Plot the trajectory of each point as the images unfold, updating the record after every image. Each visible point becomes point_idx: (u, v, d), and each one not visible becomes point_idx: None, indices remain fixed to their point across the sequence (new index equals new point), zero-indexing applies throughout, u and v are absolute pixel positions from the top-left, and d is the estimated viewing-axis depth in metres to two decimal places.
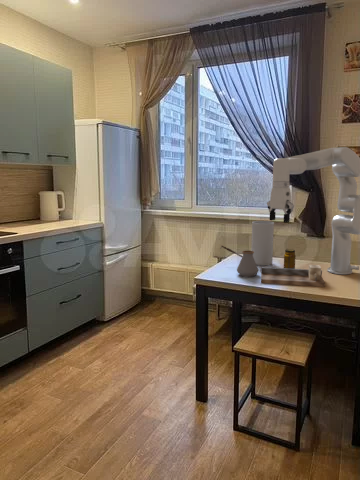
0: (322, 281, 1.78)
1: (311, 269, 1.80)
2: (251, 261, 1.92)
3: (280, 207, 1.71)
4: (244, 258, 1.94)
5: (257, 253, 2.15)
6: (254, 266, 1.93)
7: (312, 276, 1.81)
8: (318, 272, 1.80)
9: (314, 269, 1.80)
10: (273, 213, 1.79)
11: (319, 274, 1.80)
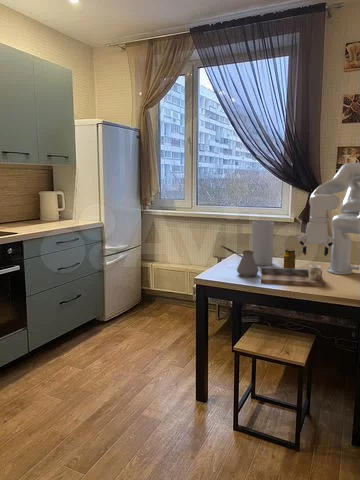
0: (322, 281, 1.78)
1: (311, 269, 1.80)
2: (251, 261, 1.92)
3: (322, 242, 1.78)
4: (244, 258, 1.94)
5: (257, 253, 2.15)
6: (254, 266, 1.93)
7: (312, 276, 1.81)
8: (318, 272, 1.80)
9: (314, 269, 1.80)
10: None
11: (319, 274, 1.80)
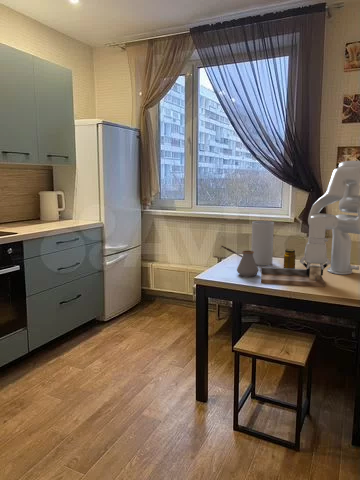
0: (322, 281, 1.78)
1: (311, 269, 1.80)
2: (251, 261, 1.92)
3: (321, 262, 1.80)
4: (244, 258, 1.94)
5: (257, 253, 2.15)
6: (254, 266, 1.93)
7: (312, 276, 1.81)
8: (318, 272, 1.80)
9: (314, 269, 1.80)
10: (309, 269, 1.84)
11: (319, 274, 1.80)
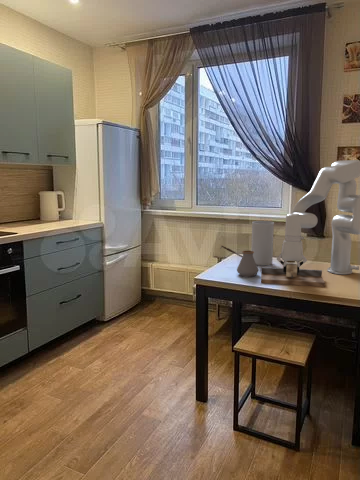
0: (322, 281, 1.78)
1: (287, 267, 1.83)
2: (251, 261, 1.92)
3: (297, 259, 1.82)
4: (244, 258, 1.94)
5: (257, 253, 2.15)
6: (254, 266, 1.93)
7: (288, 274, 1.83)
8: (294, 270, 1.82)
9: (290, 267, 1.82)
10: None
11: (295, 271, 1.82)
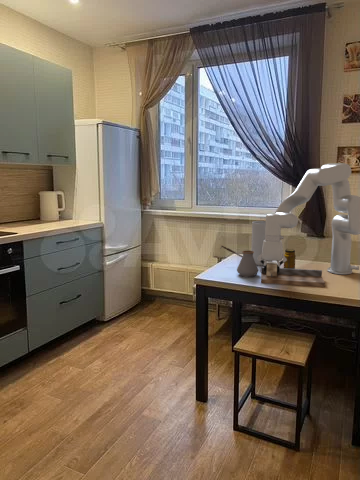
0: (322, 281, 1.78)
1: (267, 266, 1.85)
2: (251, 261, 1.92)
3: (277, 259, 1.84)
4: (244, 258, 1.94)
5: (257, 253, 2.15)
6: (254, 266, 1.93)
7: (269, 273, 1.86)
8: (274, 269, 1.85)
9: (270, 266, 1.85)
10: (266, 266, 1.88)
11: (275, 271, 1.85)
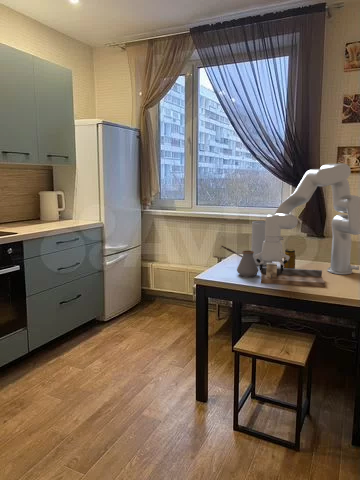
0: (322, 281, 1.78)
1: (267, 267, 1.85)
2: (251, 261, 1.92)
3: (277, 259, 1.84)
4: (244, 258, 1.94)
5: (257, 253, 2.15)
6: (254, 266, 1.93)
7: (268, 274, 1.86)
8: (274, 270, 1.85)
9: (270, 267, 1.85)
10: (262, 265, 1.89)
11: (275, 272, 1.85)
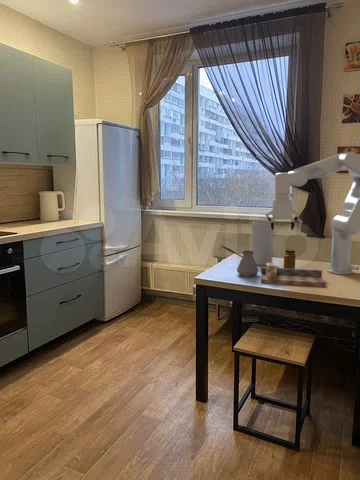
0: (322, 281, 1.78)
1: (267, 267, 1.85)
2: (251, 261, 1.92)
3: (288, 216, 1.88)
4: (244, 258, 1.94)
5: (257, 253, 2.15)
6: (254, 266, 1.93)
7: (268, 274, 1.86)
8: (274, 270, 1.85)
9: (270, 267, 1.85)
10: (273, 223, 1.92)
11: (275, 272, 1.85)
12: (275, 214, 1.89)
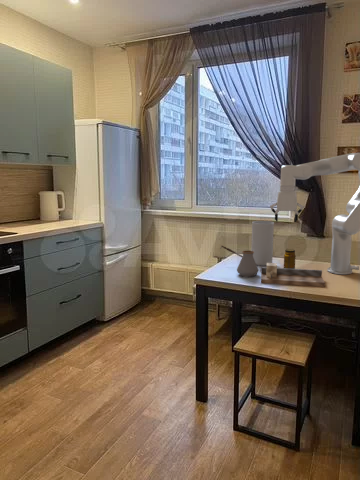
0: (322, 281, 1.78)
1: (267, 267, 1.85)
2: (251, 261, 1.92)
3: (292, 209, 1.92)
4: (244, 258, 1.94)
5: (257, 253, 2.15)
6: (254, 266, 1.93)
7: (268, 274, 1.86)
8: (274, 270, 1.85)
9: (270, 267, 1.85)
10: (277, 215, 1.96)
11: (275, 272, 1.85)
12: (279, 206, 1.93)
